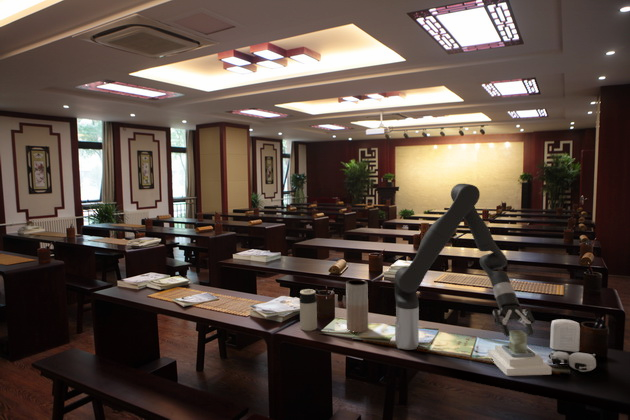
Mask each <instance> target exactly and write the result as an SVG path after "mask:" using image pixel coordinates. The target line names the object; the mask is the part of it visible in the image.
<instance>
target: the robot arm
mask: <svg viewBox="0 0 630 420" xmlns="http://www.w3.org/2000/svg"><path fill="white" fill-rule="evenodd" d="M480 194H481V192H480V189H479V188H478V187H477V186H476V185H474V184H469V183H457V184H454V186H453V187H452V188H451V191H450V198H451V200H452V204H451V205H450V207H449V208H447V211H446V212H445V213H444V214H442V215H441V216H440V217H438V218H437V219H436V220H435V221H434V222H433V223H432V224H431V225H430V226H429V228H428V229H427V231H426V232H425V233H424V234H423V237H422V239H421V241H420V244H419V247H418V249H417V251H416V254H415V257H414V259H413V260H412V261H411V262H410V264H409V265H408V266H402V267H400V268H398V269H397V270H396V272H395V273H394V298H395V309H396V310H395V311H396V312H395V314H396V315H395V318H396V319H395V322H394V328H395V329H394V330H395V331H394V335H395V336H394V339H395V340H394V342H396V343H395V345H396V344H397V345H396V347H397V349H402V350H406V351H407V350H408V351H409V350H416V349H418V348H419V347H418V345H419V343H420V342H419V339H420V338H419V336H420V335H419V333H420V332H419V327H420V326H419V321H420V319H419V317H420V316H419V314H420V313H419V311H420V309H419V305H420V304H419V298H418V295H417V293H418V292H417V289H418V288H420V286H421V284H422V282H423V280H424V279H425V276H426V275H427V273H428V271H429V270H430V268H431V266H432V265H433V263H434V262H435V261H436V259H437V258H438V256H439V255H440V254H441V252H442V251H443V250H444V248H445V247H446V245H447V244H448V242H449V241H450V240H451V238H452V236H453V235H454V233H455V232H456V230H457V229H458V227H460V225H461V223H462V222H463V220H464V221H465V222H466V224H467V226H468V229H469V231H470V233H471V235H472V238H473V241H474V243H475V244H476V248H477V250H479V252H489V253H487V254H485V255H481V256H480V257H479V264H480V265H479V266H480V267H481V268H482V269H483V270H484V272H485V273H486V275H487V277H488V278H489V280H490V284H491V286H492V289H493V294H494V295H493V296H494V298H495V299H496V300H495V301H496V303H497V307H498V309H497V308H494V309H493V310H492V317H493V320H494V321H493V322H494V324H495V326H496V327H500V328H501V330H502V333H503V335H504V336H505V337H506V338H507V337H510V330H509V327H508V325H507V322H519V323H520V324H523V326H525V329H526V334H527V336H529V337H532V336H533V334H534V330H533V327H532V326H533V324H535V322H536V320H535V317H534V316H533V314H532V311H531V309H530V308H529V307H527V308H525V309H522V308H521V305H520V302H519V300H518V297H517V294H516V292H515V289H514V287H513V285H512V283H511V280H510V277H509V275H508V273H507V271H504V270H499V269H502V268H505V267H507V265H508V259H507V256H506V255H505V253H504V252H503V251H502V250H501V249H500V248H499V246H498V245H497V244H496V242H495V240H494V238H493V235H492V233H491V231H490V229H489V227H488V226H487V224H486V222H485V221H484V220H483V218H482V217H481V216H480V214H479V212H478V211H477V208H476V204H477V203H478V201H479V200H480ZM490 252H491V253H490ZM500 315H501V316H502V317H503V319H502V321H501V319H500ZM419 346H420V345H419ZM417 347H418V348H417Z"/></svg>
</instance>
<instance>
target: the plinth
mask: <svg viewBox="0 0 630 420" xmlns="http://www.w3.org/2000/svg"><path fill="white" fill-rule="evenodd" d="M488 355H489V356H490V357H491V358H492V359H493V361H494V362H493V361H492V362H493V364H494V365H496V366H497V367H498V369H499V370H500V371H502V372H503V374H504V375H506V376H514V377H515V376H543V375H552V366H550V365H549V363H547V362H545V361H544V358H543V357H542V356H540V355H539V354H538V353H537V352H535V351H534V350H533V349H532V348H530V347H529V346H528V345H527V353H520V354H514V353H513V352H511V351H510V350H509V344H502V345H494V349H488V350H487V356H488Z"/></svg>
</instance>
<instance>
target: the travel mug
mask: <svg viewBox="0 0 630 420" xmlns="http://www.w3.org/2000/svg"><path fill="white" fill-rule="evenodd" d="M316 292H317V291H316V290H314V289H310V288H307V289H306V288H305V289H301V290H300V292H299V293H300V296H299V320H300V321H299V323H300V324H299V326H300V329H301V330H302V331H304V332H305V331H307V332H309V331H310V332H311V331H315V330H316V329H318V317H317V316H318V315H317V314H318V310H317V307H318V305H317V304H318V303H317V296H316Z"/></svg>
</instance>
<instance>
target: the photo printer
mask: <svg viewBox="0 0 630 420" xmlns="http://www.w3.org/2000/svg"><path fill="white" fill-rule="evenodd" d="M580 331H581V327H580V323H579V322H577V321H574V320H571V319H563V318H561V319H559V318H558V319H554V320H551V325H550V338H549V339H550V340H549V341H550V342H549V348H550V349H552V350H554V351H563V352H564V351H565V352H573V353H576V352H579V351H580V338H581V337H580V336H581V332H580ZM579 353H580V352H579Z"/></svg>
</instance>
